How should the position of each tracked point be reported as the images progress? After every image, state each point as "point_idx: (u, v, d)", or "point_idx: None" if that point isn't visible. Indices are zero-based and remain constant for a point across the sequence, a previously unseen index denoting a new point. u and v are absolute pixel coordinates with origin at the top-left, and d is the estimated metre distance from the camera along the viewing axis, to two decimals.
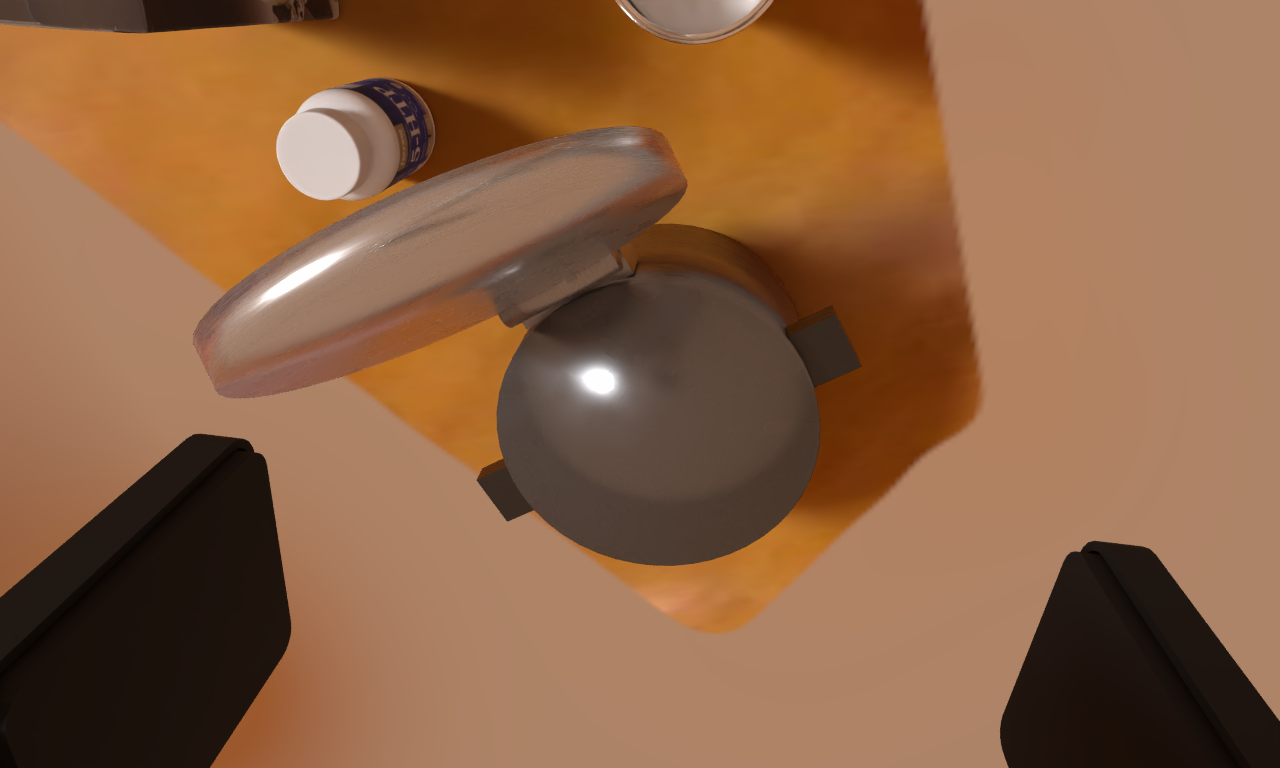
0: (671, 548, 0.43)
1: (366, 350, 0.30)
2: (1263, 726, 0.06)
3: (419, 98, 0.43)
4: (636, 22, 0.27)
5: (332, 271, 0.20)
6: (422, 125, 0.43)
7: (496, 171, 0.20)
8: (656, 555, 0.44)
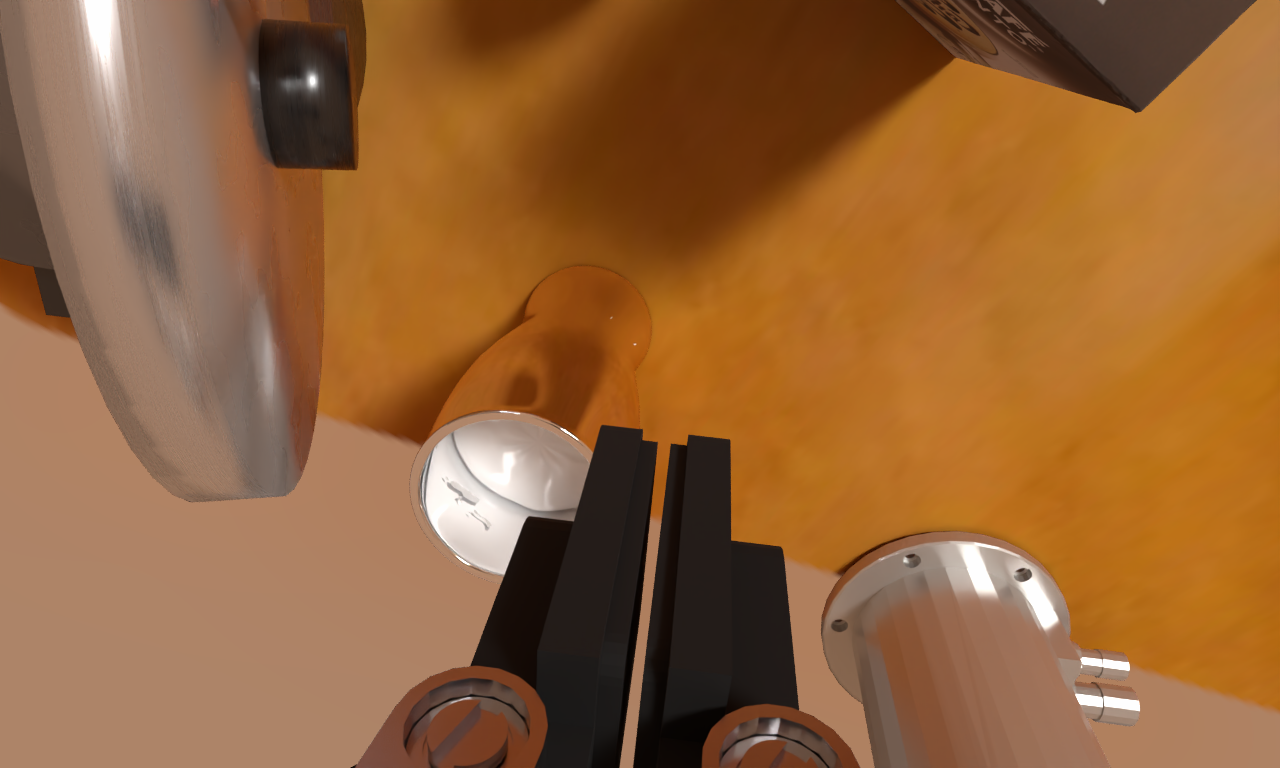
0: None
1: None
2: (712, 558, 0.08)
3: None
4: (469, 416, 0.24)
5: (97, 265, 0.10)
6: None
7: (227, 476, 0.14)
8: None
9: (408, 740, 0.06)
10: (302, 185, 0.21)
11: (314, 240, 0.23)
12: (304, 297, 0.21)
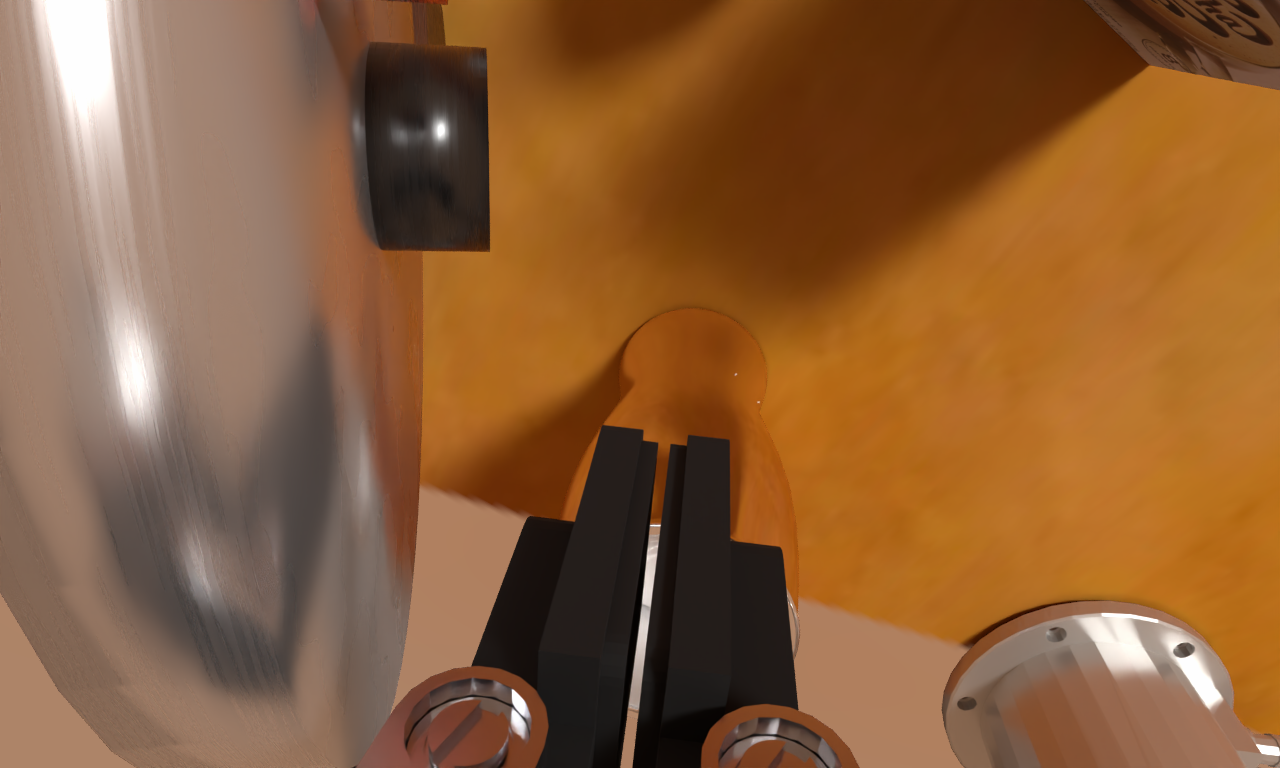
0: None
1: None
2: (711, 558, 0.08)
3: None
4: None
5: (78, 566, 0.05)
6: None
7: None
8: None
9: (409, 740, 0.06)
10: (405, 254, 0.16)
11: (415, 317, 0.18)
12: (406, 404, 0.16)
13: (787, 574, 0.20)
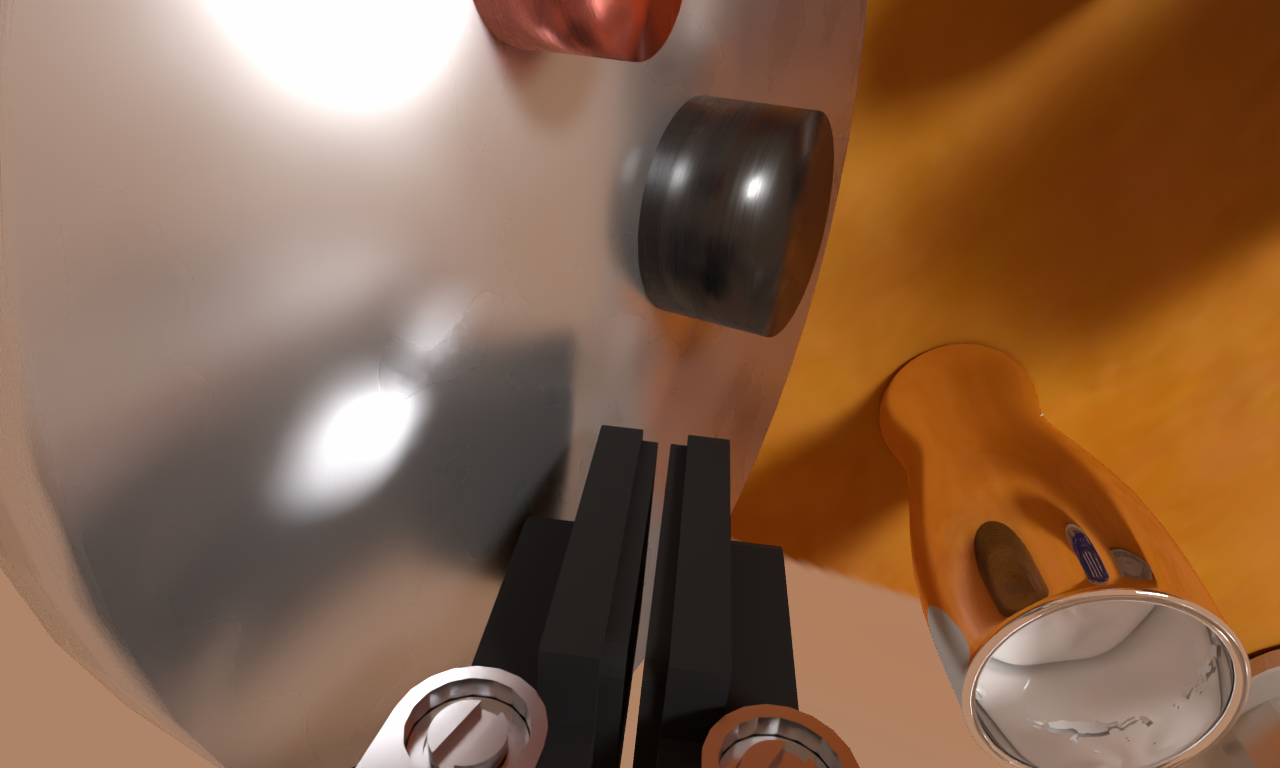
0: None
1: None
2: (712, 558, 0.08)
3: None
4: (1084, 596, 0.19)
5: (15, 551, 0.06)
6: None
7: None
8: None
9: (409, 740, 0.06)
10: None
11: (757, 381, 0.17)
12: None
13: None
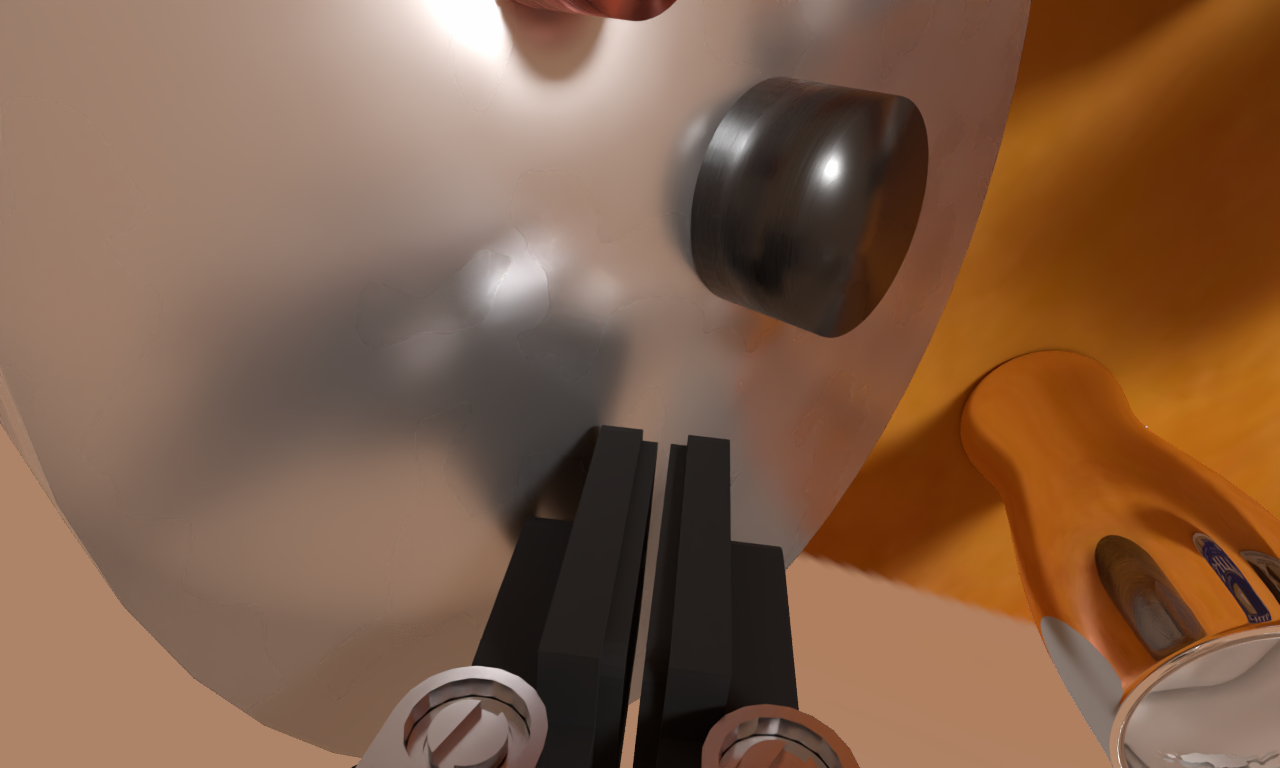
0: None
1: None
2: (712, 558, 0.08)
3: None
4: (1258, 633, 0.17)
5: (9, 429, 0.06)
6: None
7: None
8: None
9: (409, 740, 0.06)
10: None
11: (859, 393, 0.16)
12: (767, 473, 0.14)
13: None
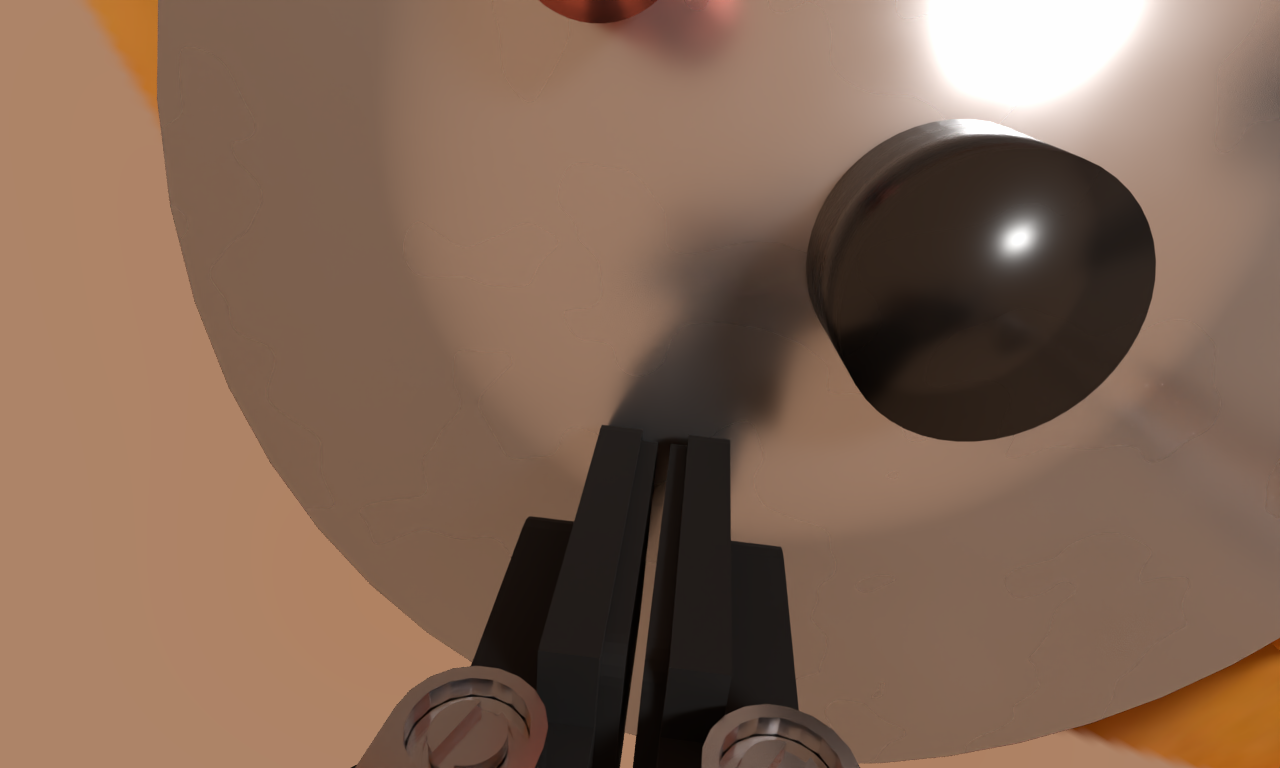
0: None
1: None
2: (712, 558, 0.08)
3: None
4: None
5: None
6: None
7: None
8: None
9: (409, 740, 0.06)
10: (1123, 466, 0.11)
11: (1164, 582, 0.12)
12: (948, 605, 0.12)
13: None
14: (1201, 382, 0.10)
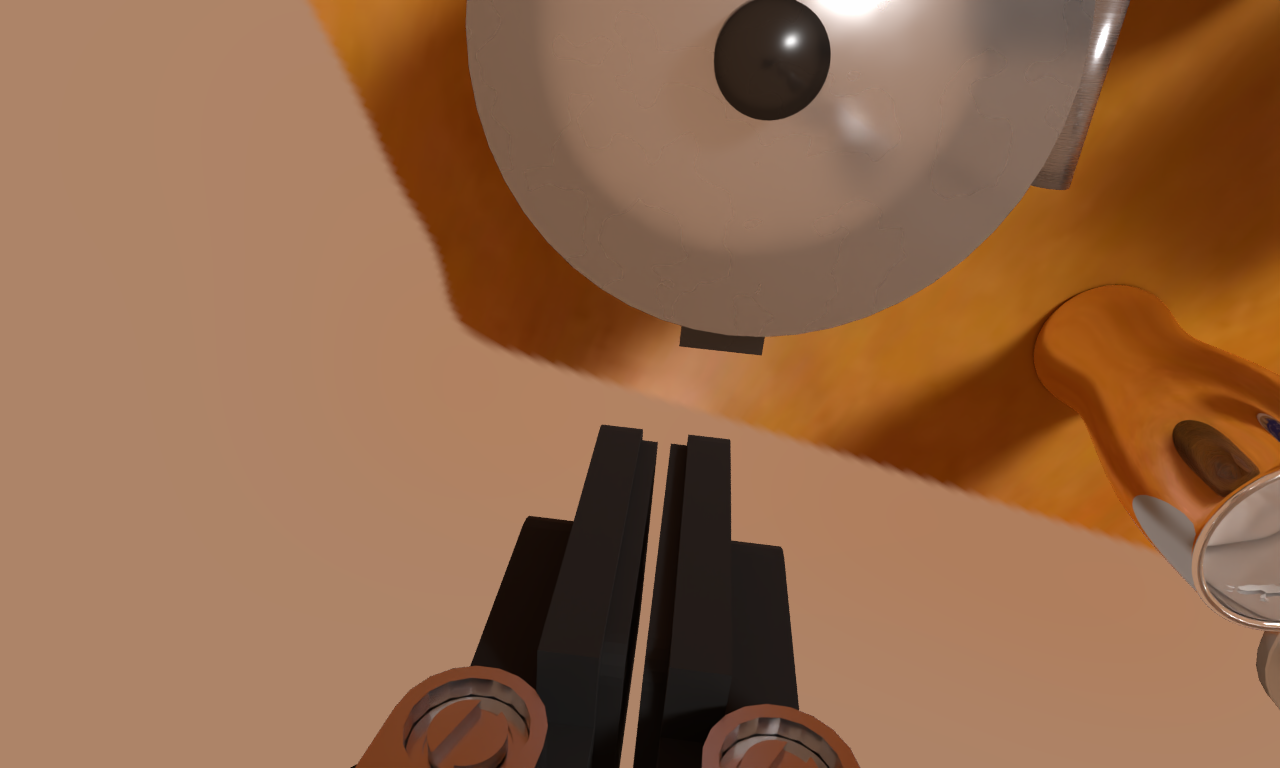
0: None
1: None
2: (712, 558, 0.08)
3: None
4: None
5: None
6: None
7: None
8: None
9: (408, 740, 0.06)
10: (861, 162, 0.24)
11: (890, 229, 0.24)
12: (788, 238, 0.25)
13: None
14: (890, 119, 0.23)
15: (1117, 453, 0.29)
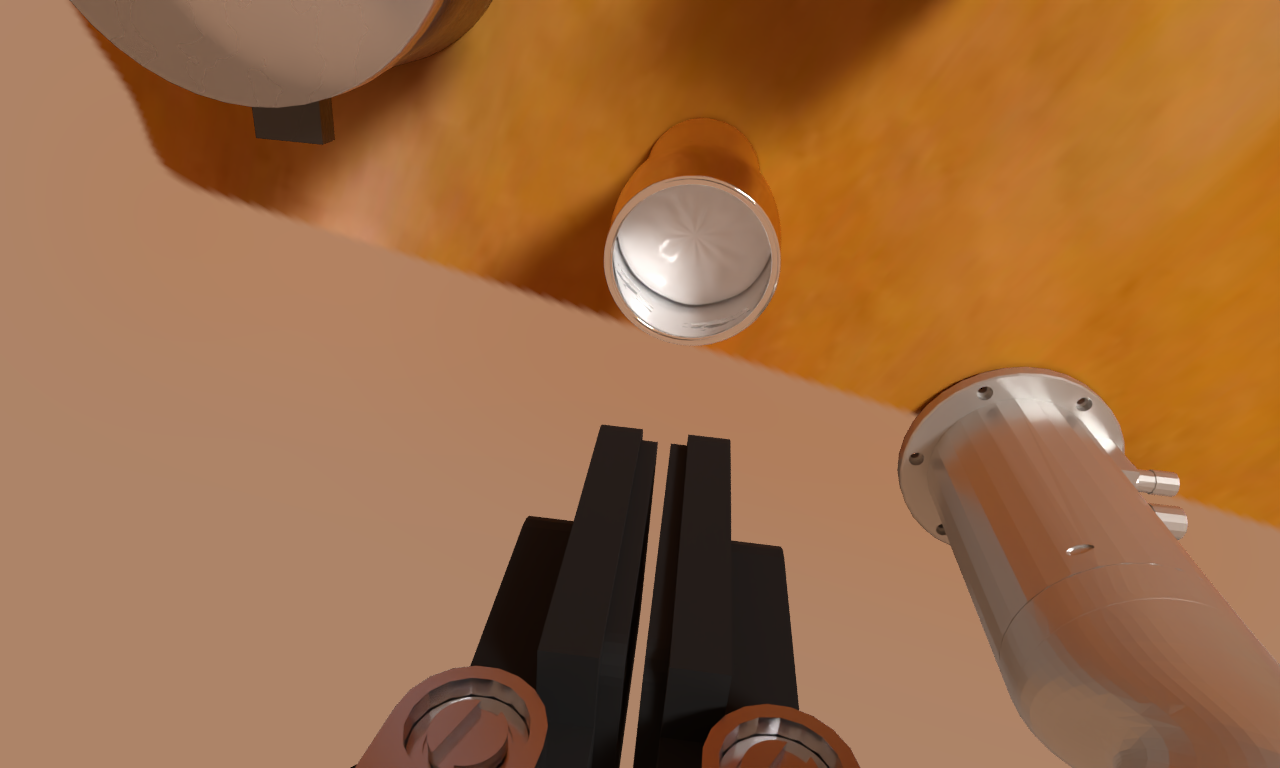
0: None
1: None
2: (712, 557, 0.08)
3: None
4: (663, 182, 0.29)
5: None
6: None
7: None
8: None
9: (409, 740, 0.06)
10: None
11: (350, 5, 0.30)
12: (275, 16, 0.31)
13: (773, 222, 0.30)
14: None
15: None
